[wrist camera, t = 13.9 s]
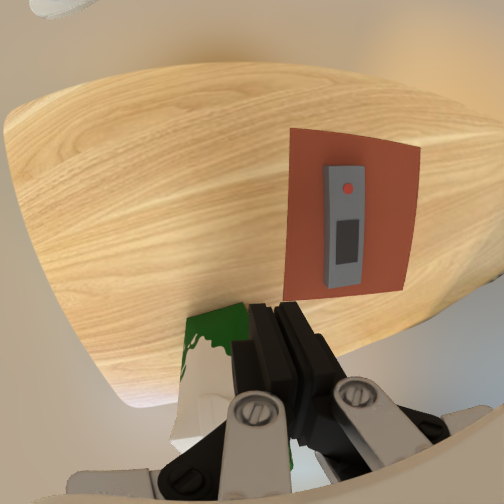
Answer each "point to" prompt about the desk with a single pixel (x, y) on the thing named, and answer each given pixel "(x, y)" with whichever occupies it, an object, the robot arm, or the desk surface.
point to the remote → (343, 224)
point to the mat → (376, 211)
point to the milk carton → (208, 374)
